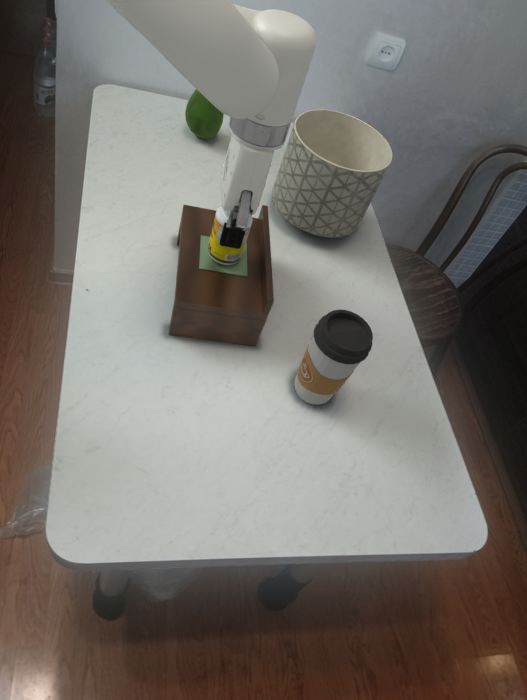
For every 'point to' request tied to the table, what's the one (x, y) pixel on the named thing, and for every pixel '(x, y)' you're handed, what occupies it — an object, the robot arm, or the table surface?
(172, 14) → the robot arm
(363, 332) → the coffee cup
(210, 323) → the shelf
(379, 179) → the planter
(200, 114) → the fruit
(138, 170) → the table surface
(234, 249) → the supplement bottle
